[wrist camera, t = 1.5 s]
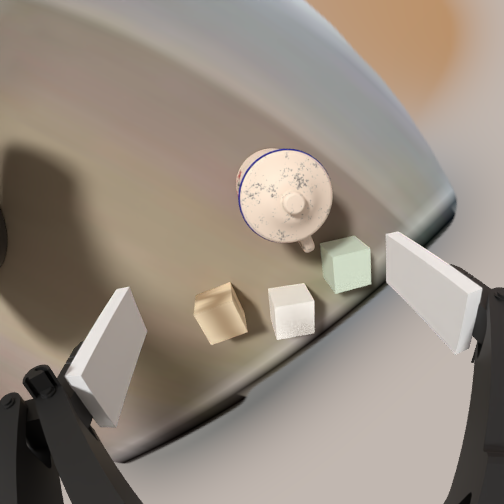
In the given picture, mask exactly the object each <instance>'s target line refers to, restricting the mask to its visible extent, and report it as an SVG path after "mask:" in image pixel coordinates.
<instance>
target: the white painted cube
mask: <svg viewBox="0 0 504 504" xmlns="http://www.w3.org/2000/svg"><path fill="white" fill-rule="evenodd" d="M268 292H269V303H270V315H271V321H272V325H273V328H274V331H275V335H276V338H277V340H279V339H285V338H291V337H296V336H302V335H307V334H313V333H314V299H313V298H312V296H311V294H310V292H309V291H308V289H307V287H306V285H305V284H304V283H302V284H295V285H289V286H282V287H276V288H269V289H268Z"/></svg>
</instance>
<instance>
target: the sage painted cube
mask: <svg viewBox="0 0 504 504" xmlns="http://www.w3.org/2000/svg"><path fill="white" fill-rule="evenodd" d="M320 250H321V259H322V268H323V277H324V279H325V280H326V281H327V283H328V284H329V286H330V287H331V288H332V290H333V291H334V293H335V294H337V293H340V292H344V291H348V290H352V289H355V288H359V287H363V286H366V285H370V284H371V257H370V248H369V247H368V246H367V245H365V244H364V243H363V242H362V241H360V240H359V239H358V238H357V237H355V236H350V237H346V238H342V239H337V240H333V241H328V242H324V243H320Z"/></svg>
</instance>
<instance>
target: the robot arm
mask: <svg viewBox="0 0 504 504" xmlns="http://www.w3.org/2000/svg"><path fill="white" fill-rule="evenodd" d="M6 249H7V234H6V227H5V222H4V218H3V215H2V212H1V210H0V267H1V265H2V264H3V261H4V259H5V255H6ZM386 282H387V283H388V284H389V285H390V286H391V287H392V288H393V289H394V290H395V291H396V292H397V293H398V294H399V295H400V296H401V297H402V298H403V299H404V300H405V301H406V302H407V303H408V305H410V307H411V308H412V309H413V310H414V311H415V312H416V313H417V314H418V315H419V316H420V317H421V318H422V319H423V320H424V321H425V322H426V323H427V324H428V325H429V327H430V328H431V329H432V330H433V331H434V332H435V333H436V334H437V335H438V336H439V337H440V338H441V340H442V341H443V342H444V343H445V344H446V345H447V346H448V347H449V348H450V349H451V351H452V352H453V353H454V354H455V355H456V354H458V353H460V352H462V351H464V350H466V349H468V348H469V346H470V342H471V339H472V336H473V337H474V338H475V339H476V340H477V345H476V348H475V352H474V355H473V358H472V361H471V362H472V363H474V360H475V363H474V364H475V365H474V375H473V385H472V394H471V401H470V407H469V414H468V420H467V425H466V430H465V435H464V440H463V445H462V449H461V453H460V457H459V461H458V465H457V469H456V473H455V476H454V479H453V483H452V486H451V489H450V492H449V495H448V497H447V499H446V500H445V502H444V504H504V288H494V289H490V288H489V287H487V286H486V285H485V284H483V283H482V282H481V281H479V280H478V279H476V278H474V277H473V276H472V275H471V274H468V272H466V271H465V270H463V269H462V268H460V267H457V266H455V265H452V264H450V265H449V264H448V263H446V262H445V261H443V260H442V259H440V258H439V257H437V256H436V255H434V254H433V253H431V252H430V251H428V250H426V249H425V248H423V247H422V246H420V245H419V244H417V243H416V242H414V241H412V240H411V239H409V238H408V237H406V236H405V235H403V234H401V233H400V232H394V233H389V234H386ZM146 334H147V330H146V327H145V325H144V322H143V320H142V317H141V315H140V312H139V310H138V307H137V305H136V302H135V300H134V297H133V295H132V292H131V289H130V287H125V288H120V289H116V291H115V292H114V294H113V295H112V297H111V298H110V300H109V302H108V303H107V305H106V306H105V308H104V309H103V311H102V313H101V314H100V316H99V317H98V319H97V321H96V322H95V324H94V326H93V327H92V329H91V330H90V332H89V334H88V335H87V337H86V339H85V341H83V342H81V343H80V344H79V345H78V346H77V347H75V348H74V350H73V351H72V353H71V355H70V358H68V360H67V362H66V364H65V365H64V367H63V369H62V370H61V372H60V374H59V376H58V377H57V378H56V376H55V375H54V373H53V372H52V370H51V369H50V367H49V366H48V365H39V366H36V367H34V368H33V369H31V370H30V371H29V372H28V373H27V374H26V375H25V377H24V378H23V385H24V386H25V387H26V389H27V390H28V392H29V393H30V394H31V396H32V397H33V399H31V400H27V401H24V400H23V399H22V398H21V396H20V395H19V394H18V393H15V392H13V393H9V394H7V395H5V396H4V397H3V398H2V399H1V400H0V504H64V503H63V496H62V491H61V484H60V478H61V480H62V482H63V485H64V487H65V489H66V492H67V494H68V496H69V498H70V500H71V502H72V504H143V503H142V502H141V500H140V499H139V498H138V496H137V495H136V494H135V493H134V491H133V490H132V488H131V487H130V485H129V484H128V483H127V481H126V480H125V479H124V477H123V475H122V474H121V473H120V471H119V470H118V468H117V467H116V465H115V464H114V462H113V460H112V459H111V457H110V456H109V454H108V452H107V451H106V449H105V448H104V446H103V444H102V443H101V441H100V439H99V437H98V436H97V434H96V432H95V430H94V429H93V428H92V427H91V425H90V424H91V421H92V418H93V419H94V420H95V421H96V423H97V424H98V425H99V426H100V427H117V424H118V420H119V417H120V413H121V410H122V407H123V403H124V400H125V397H126V394H127V391H128V387H129V384H130V381H131V378H132V375H133V372H134V369H135V366H136V363H137V360H138V357H139V354H140V351H141V348H142V345H143V342H144V340H145V337H146ZM59 476H60V478H59Z"/></svg>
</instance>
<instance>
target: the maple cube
mask: <svg viewBox="0 0 504 504" xmlns="http://www.w3.org/2000/svg"><path fill="white" fill-rule="evenodd" d="M194 316H195V318H196V320H197V322H198V323H199V325H200V327H201V328H202V330H203V332H204V334H205V335H206V337H207V339H208V340H209V342H210V344H211V345H213V344H216V343H219V342H222V341H224V340H227V339H230V338H233V337H236V336H238V335H241V334H244V333H247V332H248V331H247V325H246V319H245V313H244V310H243V308H242V306H241V304H240V301H239V299H238V297H237V295H236V293H235V291H234V289H233V287H232V285H231V282H229V283H227V284H224V285H221V286H219V287H216V288H214V289H211V290H209V291H206V292H203V293H201V294H198V295H196V299H195V308H194Z"/></svg>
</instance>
